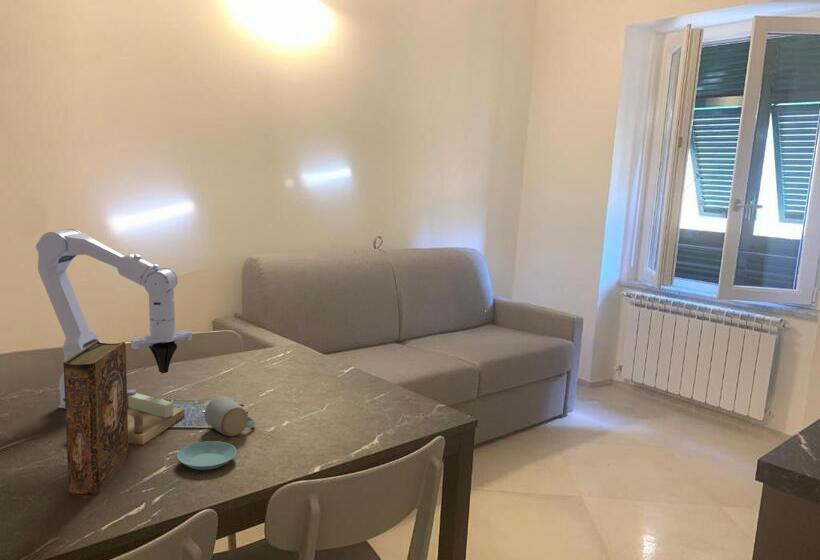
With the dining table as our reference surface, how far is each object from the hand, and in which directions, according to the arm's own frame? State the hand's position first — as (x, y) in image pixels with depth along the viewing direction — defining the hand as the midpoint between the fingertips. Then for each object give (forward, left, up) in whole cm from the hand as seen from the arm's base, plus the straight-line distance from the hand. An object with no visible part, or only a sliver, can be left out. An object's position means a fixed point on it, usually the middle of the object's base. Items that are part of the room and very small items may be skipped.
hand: (163, 371), depth 156 cm
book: (+7, -34, -10) cm, 36 cm away
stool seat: (-2, -11, -10) cm, 15 cm away
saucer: (+24, -23, -10) cm, 35 cm away
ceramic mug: (+21, -6, -10) cm, 25 cm away
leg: (0, -6, -8) cm, 10 cm away
